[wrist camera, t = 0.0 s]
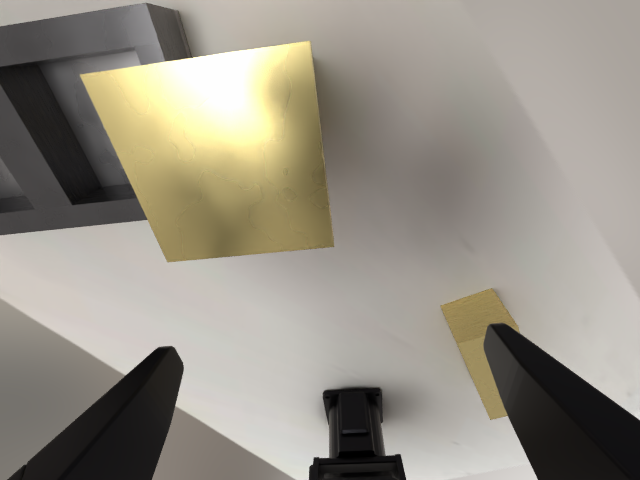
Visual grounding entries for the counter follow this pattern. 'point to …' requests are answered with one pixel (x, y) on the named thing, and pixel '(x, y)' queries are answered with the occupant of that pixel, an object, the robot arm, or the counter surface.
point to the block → (478, 341)
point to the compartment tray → (71, 115)
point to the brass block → (222, 150)
